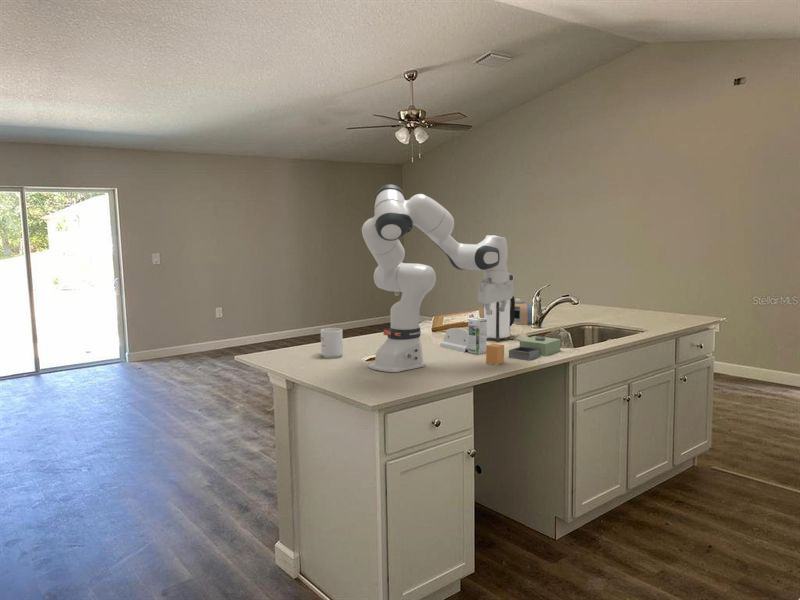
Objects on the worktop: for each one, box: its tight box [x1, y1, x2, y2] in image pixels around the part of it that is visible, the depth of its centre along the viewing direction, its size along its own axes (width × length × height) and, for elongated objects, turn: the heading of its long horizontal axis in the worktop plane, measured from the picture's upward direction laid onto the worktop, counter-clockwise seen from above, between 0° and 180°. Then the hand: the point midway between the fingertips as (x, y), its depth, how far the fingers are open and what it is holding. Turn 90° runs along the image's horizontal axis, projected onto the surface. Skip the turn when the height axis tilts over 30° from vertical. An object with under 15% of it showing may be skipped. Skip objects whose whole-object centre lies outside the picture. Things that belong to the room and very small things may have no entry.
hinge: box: [439, 327, 468, 353], centre depth 262 cm, size 17×5×10 cm, turn 36°
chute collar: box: [508, 345, 541, 361], centre depth 244 cm, size 9×9×3 cm
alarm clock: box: [510, 300, 533, 326], centre depth 327 cm, size 19×20×12 cm
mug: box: [320, 327, 344, 359], centre depth 250 cm, size 12×9×11 cm
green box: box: [519, 335, 561, 357], centre depth 253 cm, size 13×12×6 cm
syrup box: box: [467, 317, 488, 355], centre depth 253 cm, size 6×6×14 cm
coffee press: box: [482, 295, 516, 343], centre depth 281 cm, size 17×16×30 cm
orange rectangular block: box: [485, 342, 505, 365], centre depth 234 cm, size 5×5×7 cm
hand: (495, 313), depth 232 cm, fingers open, 8 cm apart
